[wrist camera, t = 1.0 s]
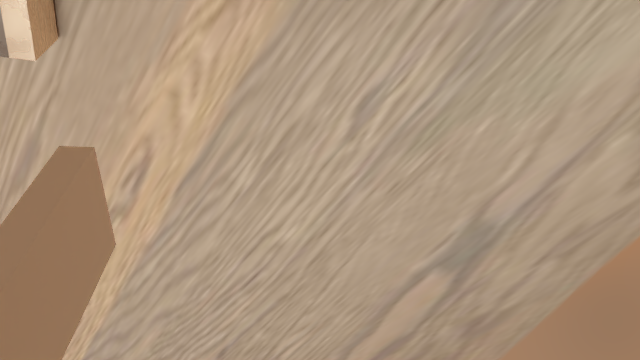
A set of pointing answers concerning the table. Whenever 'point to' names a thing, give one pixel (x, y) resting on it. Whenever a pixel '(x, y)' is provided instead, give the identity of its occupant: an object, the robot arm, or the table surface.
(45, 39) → the jaw
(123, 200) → the table surface
